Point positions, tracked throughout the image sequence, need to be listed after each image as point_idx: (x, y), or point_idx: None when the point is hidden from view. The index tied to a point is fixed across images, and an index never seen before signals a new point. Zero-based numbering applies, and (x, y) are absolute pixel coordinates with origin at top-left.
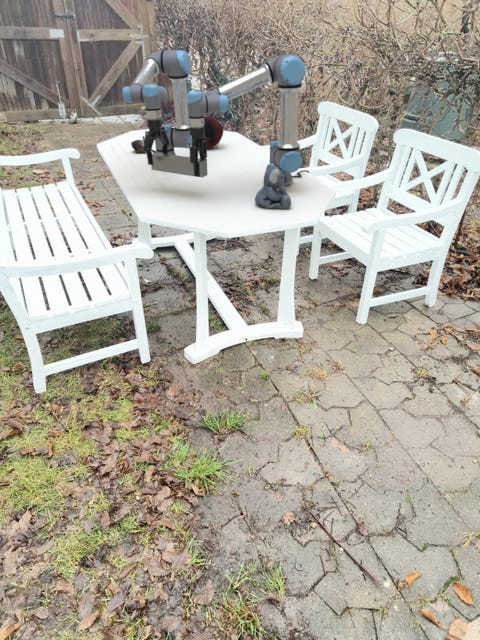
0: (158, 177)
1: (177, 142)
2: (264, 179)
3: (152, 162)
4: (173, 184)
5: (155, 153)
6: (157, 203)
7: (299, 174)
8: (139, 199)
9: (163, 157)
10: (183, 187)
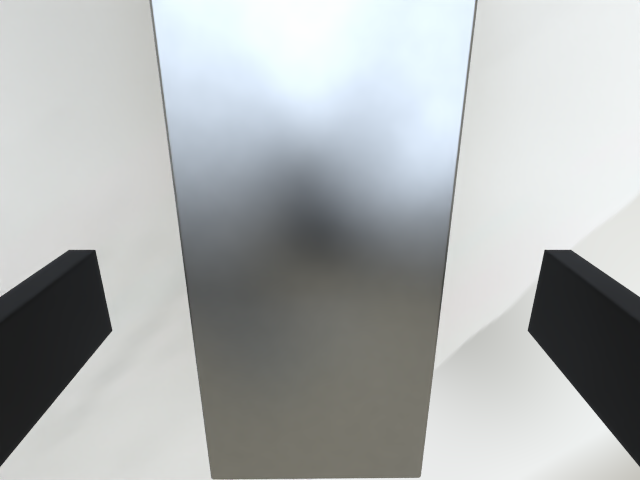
0: (75, 378)
1: None
2: None
3: (584, 269)
4: (132, 182)
5: (281, 448)
6: (621, 4)
7: None
8: (564, 209)
9: (456, 106)
10: (142, 45)
